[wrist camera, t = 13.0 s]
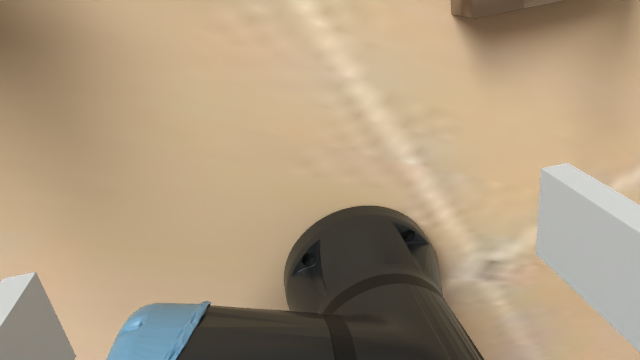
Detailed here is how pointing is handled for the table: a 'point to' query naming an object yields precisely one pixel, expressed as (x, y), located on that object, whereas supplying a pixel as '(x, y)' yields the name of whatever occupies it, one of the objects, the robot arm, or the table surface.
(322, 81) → the table surface
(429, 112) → the table surface
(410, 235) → the robot arm
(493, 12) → the socket
